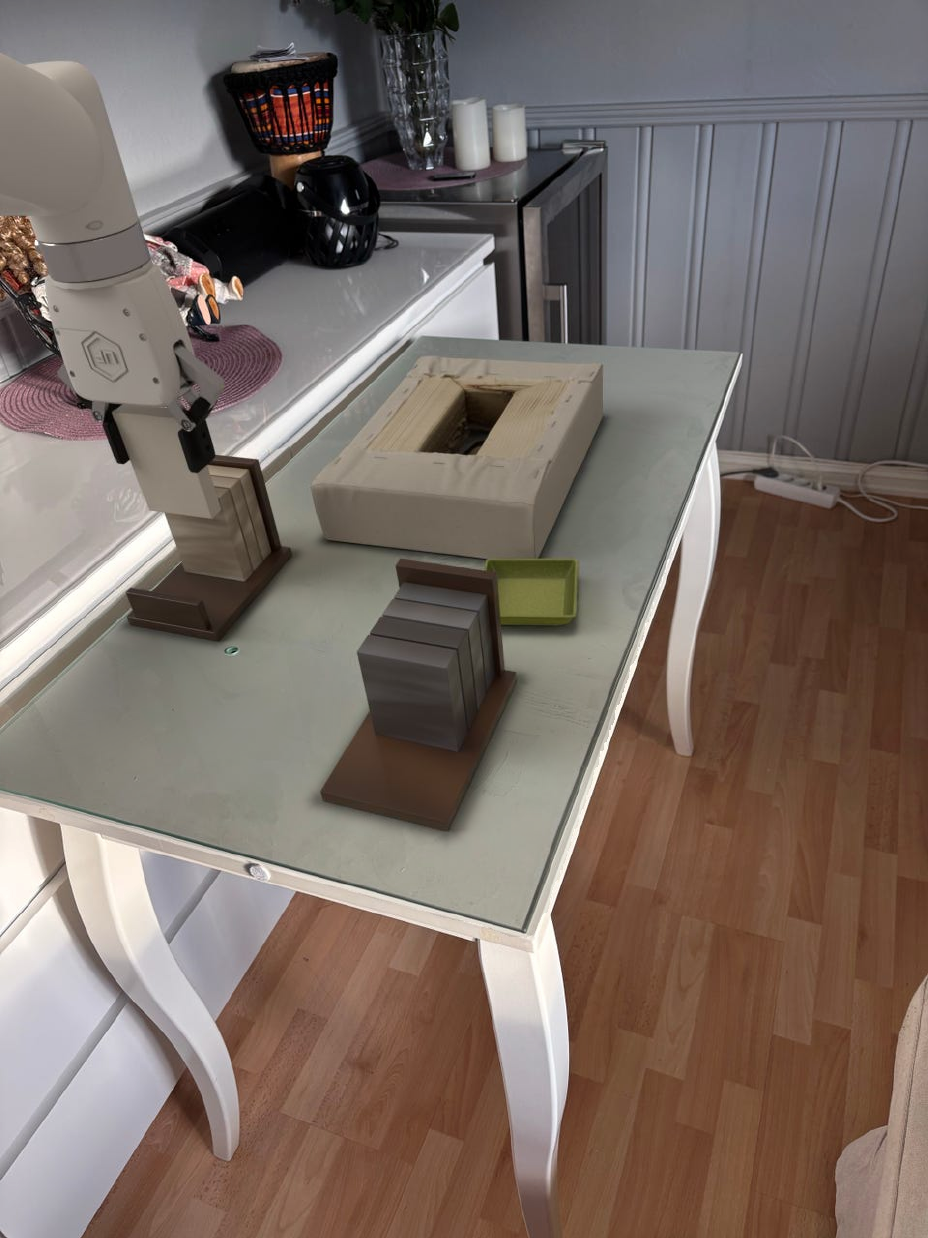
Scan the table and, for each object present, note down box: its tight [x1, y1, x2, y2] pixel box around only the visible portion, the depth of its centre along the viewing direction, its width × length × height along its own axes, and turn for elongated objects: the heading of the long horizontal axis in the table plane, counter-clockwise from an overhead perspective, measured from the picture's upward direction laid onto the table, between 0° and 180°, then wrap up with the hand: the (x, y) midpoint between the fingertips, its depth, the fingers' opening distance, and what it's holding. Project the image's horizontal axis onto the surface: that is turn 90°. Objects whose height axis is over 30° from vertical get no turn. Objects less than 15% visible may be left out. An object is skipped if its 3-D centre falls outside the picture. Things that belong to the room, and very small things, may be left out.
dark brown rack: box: [125, 454, 293, 642], centre depth 86 cm, size 14×10×11 cm
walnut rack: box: [319, 558, 518, 832], centre depth 68 cm, size 16×10×11 cm, turn 160°
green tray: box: [483, 558, 580, 626], centre depth 82 cm, size 9×9×2 cm
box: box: [310, 355, 604, 560], centre depth 100 cm, size 23×8×32 cm
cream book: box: [112, 404, 221, 519], centre depth 80 cm, size 2×7×10 cm, turn 69°
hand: (166, 459), depth 80 cm, fingers closed on cream book, 7 cm apart
